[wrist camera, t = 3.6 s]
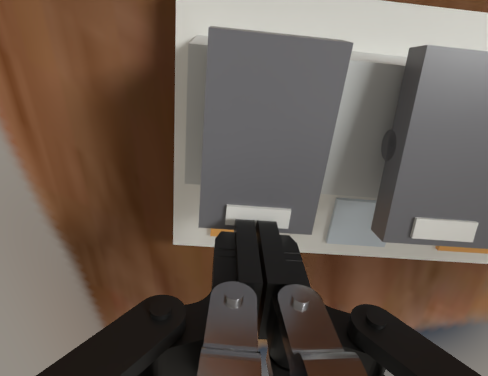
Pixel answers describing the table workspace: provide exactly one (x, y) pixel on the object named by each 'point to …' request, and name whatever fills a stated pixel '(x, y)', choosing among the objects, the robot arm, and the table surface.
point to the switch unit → (349, 116)
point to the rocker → (268, 126)
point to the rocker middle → (437, 152)
